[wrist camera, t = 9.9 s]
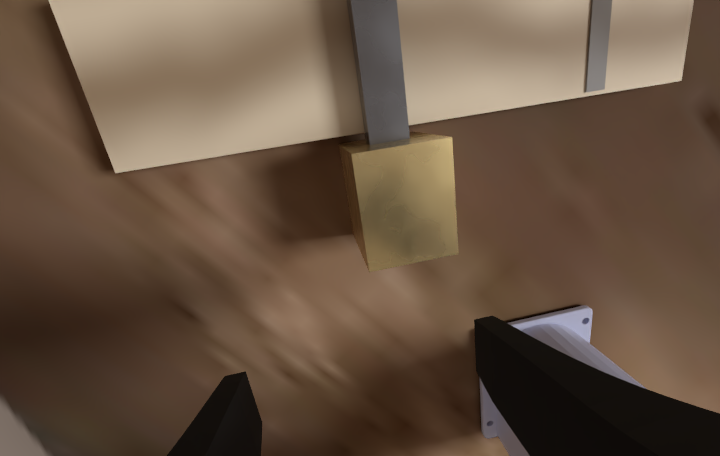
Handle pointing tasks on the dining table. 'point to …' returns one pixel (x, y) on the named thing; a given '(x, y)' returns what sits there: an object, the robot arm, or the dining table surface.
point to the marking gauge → (394, 155)
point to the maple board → (343, 65)
